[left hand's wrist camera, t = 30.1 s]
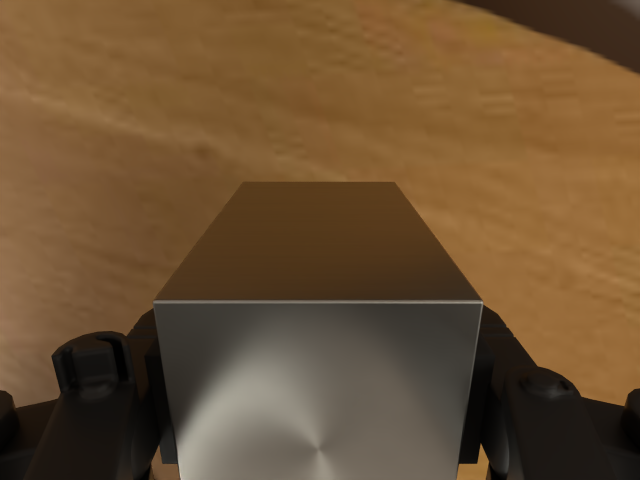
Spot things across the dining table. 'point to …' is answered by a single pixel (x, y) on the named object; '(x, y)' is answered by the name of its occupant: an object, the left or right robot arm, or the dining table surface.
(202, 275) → the metal block
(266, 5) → the dining table surface
